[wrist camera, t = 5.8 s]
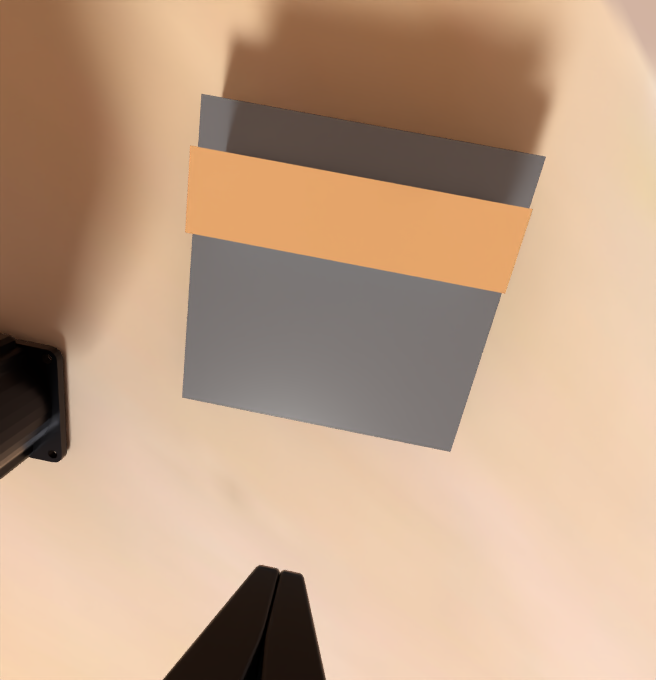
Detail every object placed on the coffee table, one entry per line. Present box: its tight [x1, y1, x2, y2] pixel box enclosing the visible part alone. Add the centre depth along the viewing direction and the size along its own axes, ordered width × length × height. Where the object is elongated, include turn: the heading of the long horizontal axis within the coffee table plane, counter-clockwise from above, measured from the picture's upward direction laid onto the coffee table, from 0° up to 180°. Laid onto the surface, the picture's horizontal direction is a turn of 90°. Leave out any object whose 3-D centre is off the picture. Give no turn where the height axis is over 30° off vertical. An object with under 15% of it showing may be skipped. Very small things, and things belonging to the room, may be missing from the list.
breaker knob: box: [185, 145, 533, 294], centre depth 14 cm, size 2×10×3 cm, turn 80°
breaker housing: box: [182, 94, 546, 452], centre depth 18 cm, size 12×12×2 cm
